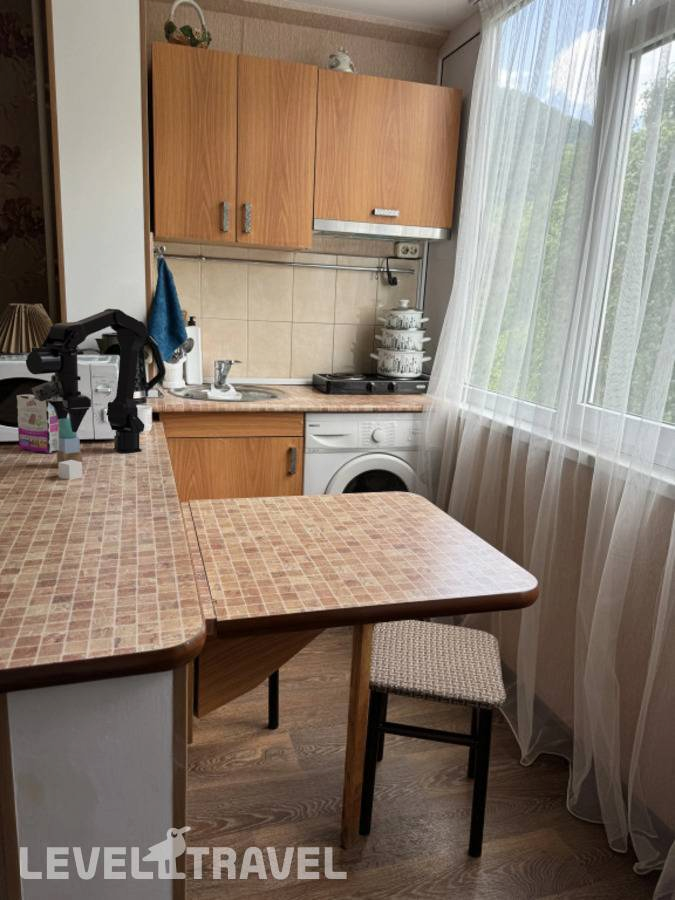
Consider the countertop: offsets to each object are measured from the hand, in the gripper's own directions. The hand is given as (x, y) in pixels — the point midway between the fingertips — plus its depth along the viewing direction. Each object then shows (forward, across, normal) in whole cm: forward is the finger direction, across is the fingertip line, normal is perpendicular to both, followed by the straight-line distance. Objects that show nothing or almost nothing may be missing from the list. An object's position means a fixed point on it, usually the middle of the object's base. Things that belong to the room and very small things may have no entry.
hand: (68, 429), depth 175 cm
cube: (+10, +12, -4) cm, 16 cm away
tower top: (+6, 0, 0) cm, 6 cm away
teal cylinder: (+2, 0, 0) cm, 2 cm away
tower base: (+10, 0, 0) cm, 10 cm away
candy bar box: (+10, -21, -1) cm, 23 cm away
